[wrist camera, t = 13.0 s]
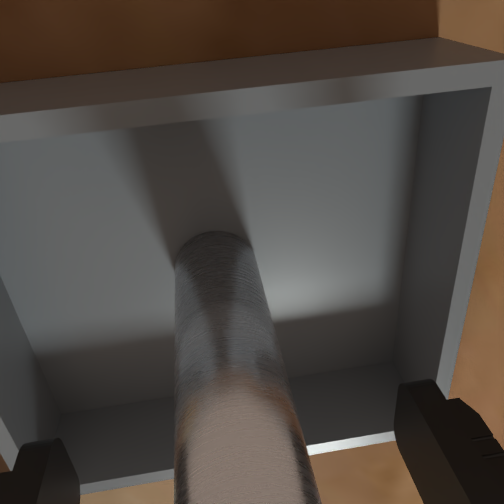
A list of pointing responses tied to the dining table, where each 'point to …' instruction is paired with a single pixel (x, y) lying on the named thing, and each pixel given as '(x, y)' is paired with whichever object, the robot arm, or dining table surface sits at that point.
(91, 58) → the dining table surface
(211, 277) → the metal pin
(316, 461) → the dining table surface
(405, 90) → the tray
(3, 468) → the block
